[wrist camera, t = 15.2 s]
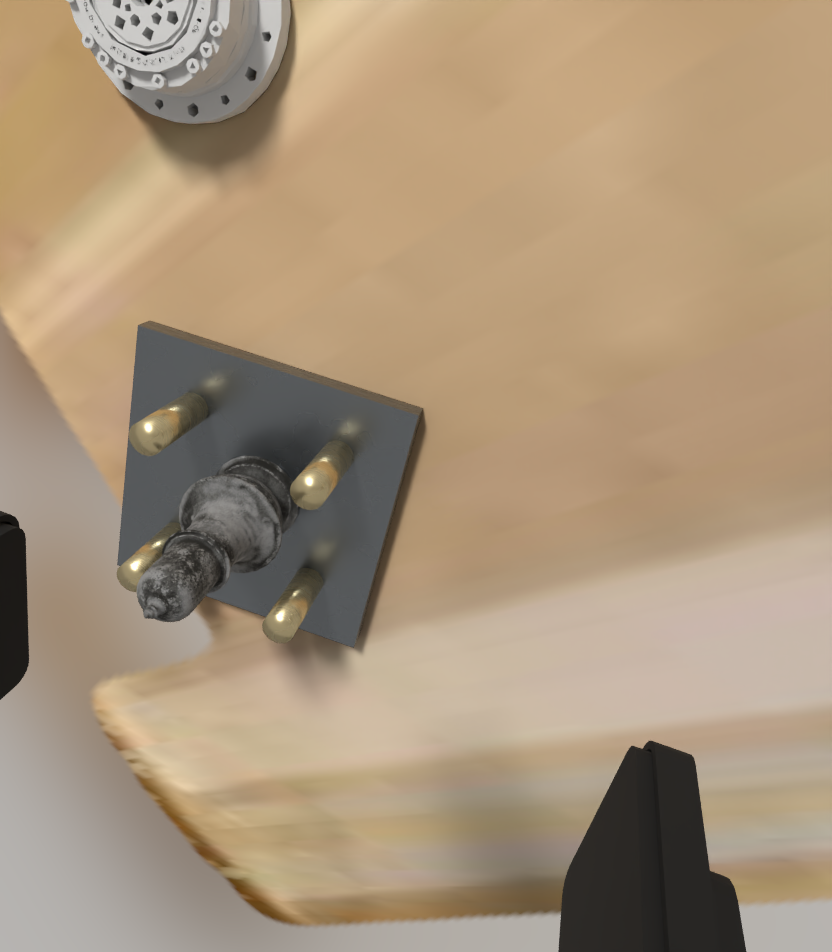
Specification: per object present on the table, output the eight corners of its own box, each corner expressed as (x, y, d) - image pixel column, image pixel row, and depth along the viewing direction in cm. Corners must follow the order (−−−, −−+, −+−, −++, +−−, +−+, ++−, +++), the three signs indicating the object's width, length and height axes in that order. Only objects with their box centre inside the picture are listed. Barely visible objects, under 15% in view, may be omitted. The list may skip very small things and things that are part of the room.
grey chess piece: (324, 508, 41) (235, 634, 31) (257, 559, 44) (153, 692, 33) (253, 430, 40) (135, 533, 29) (189, 487, 43) (58, 600, 32)
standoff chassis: (423, 408, 39) (397, 450, 33) (358, 636, 46) (328, 702, 40) (149, 320, 40) (81, 346, 35) (128, 555, 47) (67, 609, 42)
